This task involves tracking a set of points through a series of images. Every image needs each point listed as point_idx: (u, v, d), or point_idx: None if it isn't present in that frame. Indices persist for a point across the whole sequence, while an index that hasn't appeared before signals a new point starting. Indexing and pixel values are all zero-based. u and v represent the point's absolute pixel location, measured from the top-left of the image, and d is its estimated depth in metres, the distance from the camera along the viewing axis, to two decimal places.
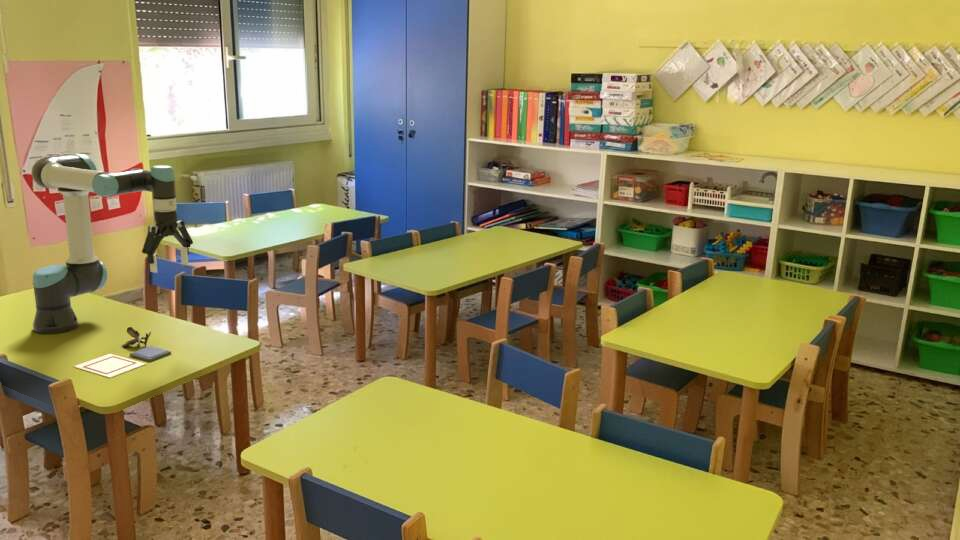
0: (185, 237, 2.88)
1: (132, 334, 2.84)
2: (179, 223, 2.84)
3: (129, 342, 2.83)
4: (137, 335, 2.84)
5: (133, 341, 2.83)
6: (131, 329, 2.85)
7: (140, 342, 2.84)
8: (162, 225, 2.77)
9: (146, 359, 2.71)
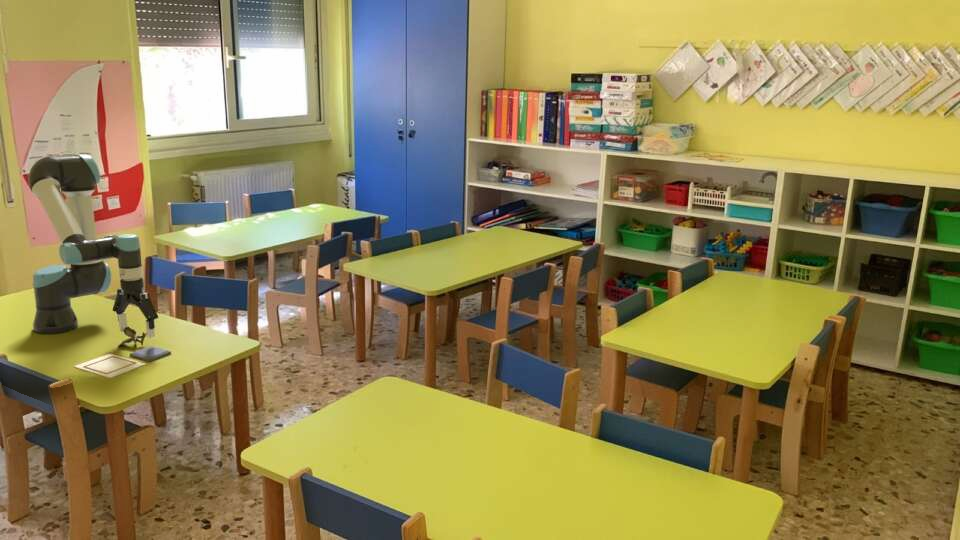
0: None
1: (129, 333, 2.85)
2: None
3: (125, 340, 2.83)
4: (134, 334, 2.84)
5: (130, 339, 2.83)
6: (128, 328, 2.85)
7: (136, 341, 2.84)
8: (125, 291, 2.81)
9: (146, 359, 2.71)
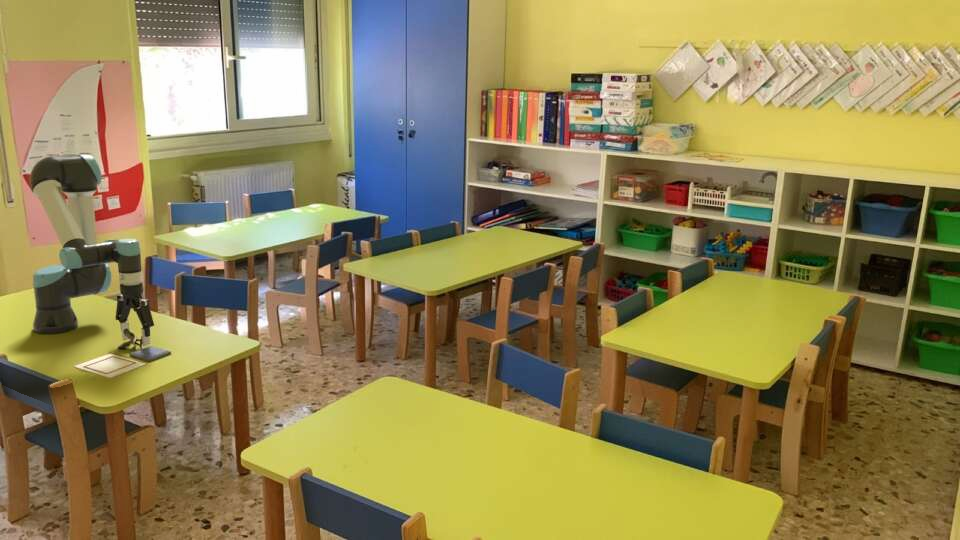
0: None
1: (128, 336, 2.82)
2: None
3: (124, 344, 2.81)
4: (132, 337, 2.81)
5: (128, 343, 2.81)
6: (127, 331, 2.83)
7: (135, 344, 2.82)
8: (124, 295, 2.81)
9: (146, 359, 2.71)
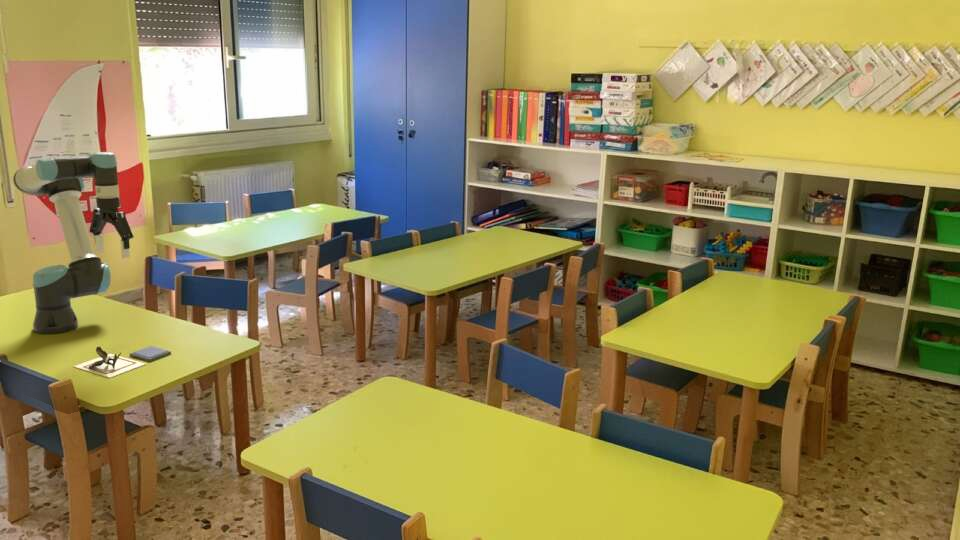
0: None
1: (100, 354, 2.63)
2: None
3: (96, 363, 2.61)
4: (105, 356, 2.62)
5: (100, 362, 2.61)
6: (99, 349, 2.63)
7: (108, 363, 2.63)
8: (101, 210, 2.80)
9: (146, 359, 2.71)
